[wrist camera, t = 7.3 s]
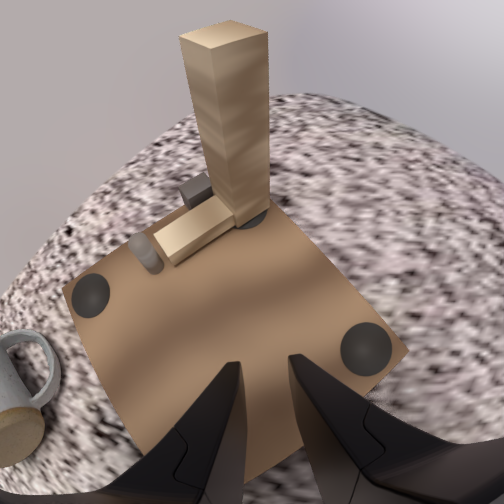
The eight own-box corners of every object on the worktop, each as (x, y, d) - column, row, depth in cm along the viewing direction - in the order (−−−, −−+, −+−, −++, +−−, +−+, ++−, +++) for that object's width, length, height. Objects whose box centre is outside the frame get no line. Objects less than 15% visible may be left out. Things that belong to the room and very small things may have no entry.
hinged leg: (176, 269, 18) (85, 107, 7) (157, 240, 19) (73, 85, 8) (269, 207, 20) (267, 31, 9) (246, 184, 21) (230, 20, 10)
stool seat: (401, 354, 16) (435, 339, 12) (192, 506, 12) (172, 532, 9) (243, 181, 23) (239, 139, 19) (70, 294, 19) (35, 269, 15)
